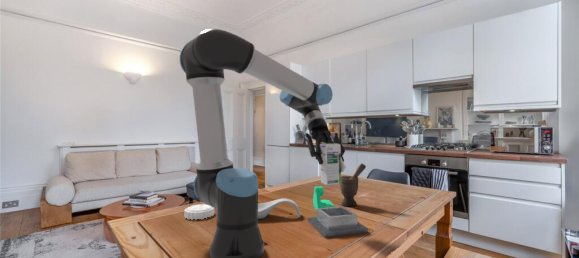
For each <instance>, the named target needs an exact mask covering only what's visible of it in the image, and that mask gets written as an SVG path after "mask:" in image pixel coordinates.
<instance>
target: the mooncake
mask: <svg viewBox="0 0 579 258" xmlns="http://www.w3.org/2000/svg"><path fill="white" fill-rule="evenodd" d="M215 210H216V209H215V208H214V207H212V206H210V205H207V204H205V203H200V204H193V205H190V206H189V207H185V208H184V211H183V212H184V213H183V214H184V215H183V216H184V218H185V219H186V218H187V219H186V220H190V219H191V221H198V220H197V219H201V220H205V219H204V218H206V219H208V218H207V217H210V218H212V217H214V216H215V214H216V213H215ZM211 216H212V217H211ZM193 219H195V220H193Z"/></svg>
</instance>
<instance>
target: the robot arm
mask: <svg viewBox="0 0 579 258" xmlns="http://www.w3.org/2000/svg"><path fill="white" fill-rule="evenodd" d="M255 47H256V46H255V44H253V43H252V42H250V41H248V40H247V39H246V38H245V39H244V38H243V37H240V36H239V35H237V34H234V33H232V32H230V31H226V30H224V29H219V28H218V29H217V28H208V29H205V30H203V31H201V32H200V33H199V34H198V35H197V36H195V37H194V38H193V39H191V40H190V41H188V42H187V43H186V44H184V46H183V47H182V49H181V52H180V54H179V65H180V67H181V70H182V71H183V72H184V73H185V79H186V83H187V84H188V85H190V87H192V95H193V105H194V114H195V115H194V116H195V122H196V123H195V124H196V132H197V141H198V151H199V158H200V161H199V163H198V164H197V166H196V167H195V169H196V170H195V171H196V177H195V178H194V182H193V191H194V194H195V196H196V198H198V199H199V200H200V202H202V204H207V205H210V206H212V207H214V208H215V210H216V228H215V232H214V234H213V237H212V238H213V239H212V242H211V245H210V246H209V258H262V256H263V255H264V253H265V243H264V240H263V237H262V234H261V230H260V228H259V219H258V204H259V188H260V187H259V180H258V175H257V174H256V172H255V171H252V170H249V169H245V168H239V167H237V168H236V167H235V168H234V162H233V160H231V159H229V157H228V149H227V138H226V131H225V130H226V128H225V119H224V109H223V98H222V89H221V85H222V84H223V83H224V82H225V73H224V72H225V71H224V70H228V71H233V72H235V73H237V74H244V73H245V74H247V75H250V76H251V77H253V78H256V79H258V80H260V81H262V82H264V83H266V84H269V85H270V86H272V87H275V89H276V88H277V89H278V90H281V91H280V93H279V100H280V102H281V103H283V104H284V105H285V106H287V107H289V108H291V109H292V110H294V111H296V112H298V113H299V114H301V115H302V116H303V118H304V120H305V123H306V126H307V129H308V132H309V133H308V132H306V133H305V135H304V140H305V142H306V143H307V148H308V151H309V154H310V155H309V156H310V157H311V158H314V157H315V158H314V159H315V160H317V163H318V164H319V165H320V164H321V165H322V168H323V170H324V173H327V171H328V169H329V168H328V165H327V162H326V160H325V157H324V155H323V154H321V148H320V144H328V143H338V144H340V148H341V173H344V172H345V169H346V165H345V158H344V154H345V153H346V149H345V147H344V146H343V144H342V141H341V140H340V137H339V133H338V132H334V133H331V131H330V130H329V126H328V124H327V122H326V119H325V117H324V116H323V113H322V110H321V109H320V106H324V105H328V104H330V103H331V101H332V100H333V96H334V95H333V90H332V87H331V86H330V85H329V84H327V83H320V84H317V83H315V82H314V81H312V80H310V79H308V78H307V77H305V76H303V75H301V74H300V73H298V72H296V71H294V70H292V69H290V67H289V68H288V67H287V66H286V65H284V64H282V63H280V62H278V61H277V60H275V59H273V58H271V57H269V56H268V55H266V54H264V53H262V52H261V51H259V50H257V49H256V48H255ZM313 140H314V141H315V145H314V141H313Z"/></svg>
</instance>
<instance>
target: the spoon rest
mask: <svg viewBox="0 0 579 258" xmlns="http://www.w3.org/2000/svg"><path fill="white" fill-rule="evenodd" d="M284 203H286V204H290V205H292V207H293V208H294V209H295V212H296V217H297V218H301V212H300V208H299V205H298V204H297V202H295V201H294V200H292V199H289V198H285V197H284V198H278V199H275V200H271V201H267V202H263V203H262V202H261V203H258V220H261V219H264V218H266V217H267V216H268V215H269V214H270V213H271V212H272V211H273V210H274V209H275V208H276V207H278V206H279V205H281V204H284Z"/></svg>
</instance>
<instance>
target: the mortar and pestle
mask: <svg viewBox="0 0 579 258" xmlns="http://www.w3.org/2000/svg"><path fill="white" fill-rule="evenodd" d="M366 167H367V165H365V164H364V163H360V164H359V165H358V167H357V169H356V170H355V171H354V174H353V175H341V184H339V187H340V188H339V189H340V192H341V194H342V196H343V199H342V200H341V201H340V205H341V206H343V207H357V205H358V204H357V201H356V200H355V198H354V197H355V196H357V194H358V191H359V176H360V175H361V174H362V173H363V172H364V170H365V169H366Z"/></svg>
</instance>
